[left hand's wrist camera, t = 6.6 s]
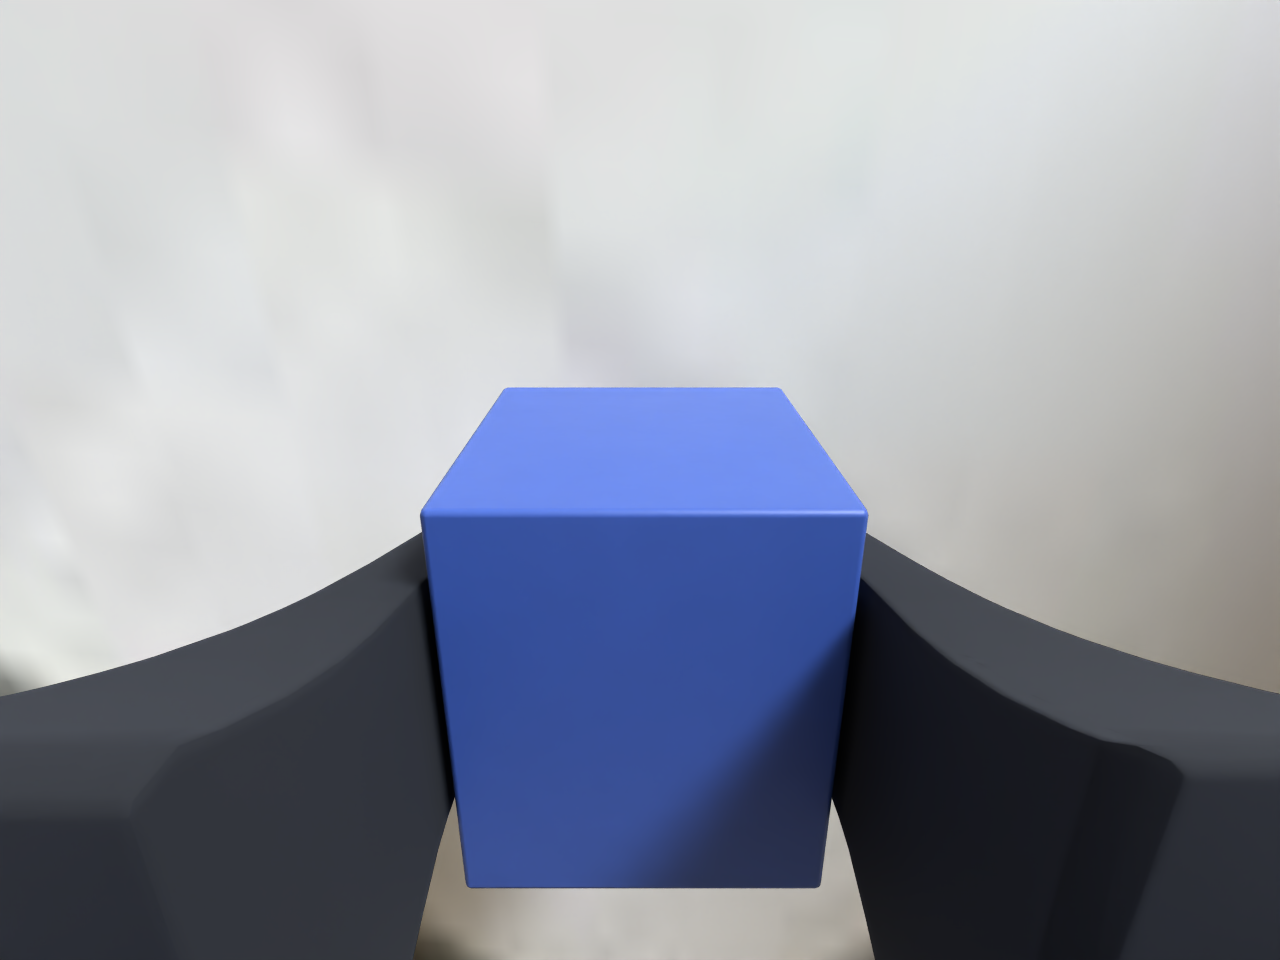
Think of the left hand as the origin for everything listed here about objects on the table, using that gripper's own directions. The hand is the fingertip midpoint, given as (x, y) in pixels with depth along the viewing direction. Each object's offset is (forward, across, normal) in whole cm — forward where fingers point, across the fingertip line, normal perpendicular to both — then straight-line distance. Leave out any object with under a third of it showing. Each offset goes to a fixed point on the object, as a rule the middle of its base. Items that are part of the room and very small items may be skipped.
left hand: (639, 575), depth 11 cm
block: (+2, 0, 0) cm, 2 cm away
